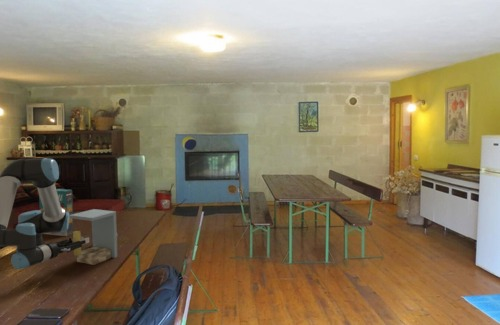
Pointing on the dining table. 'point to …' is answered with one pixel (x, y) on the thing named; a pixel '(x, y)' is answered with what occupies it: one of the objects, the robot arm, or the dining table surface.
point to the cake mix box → (67, 205)
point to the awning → (101, 228)
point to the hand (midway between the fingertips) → (85, 239)
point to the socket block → (94, 255)
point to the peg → (75, 238)
